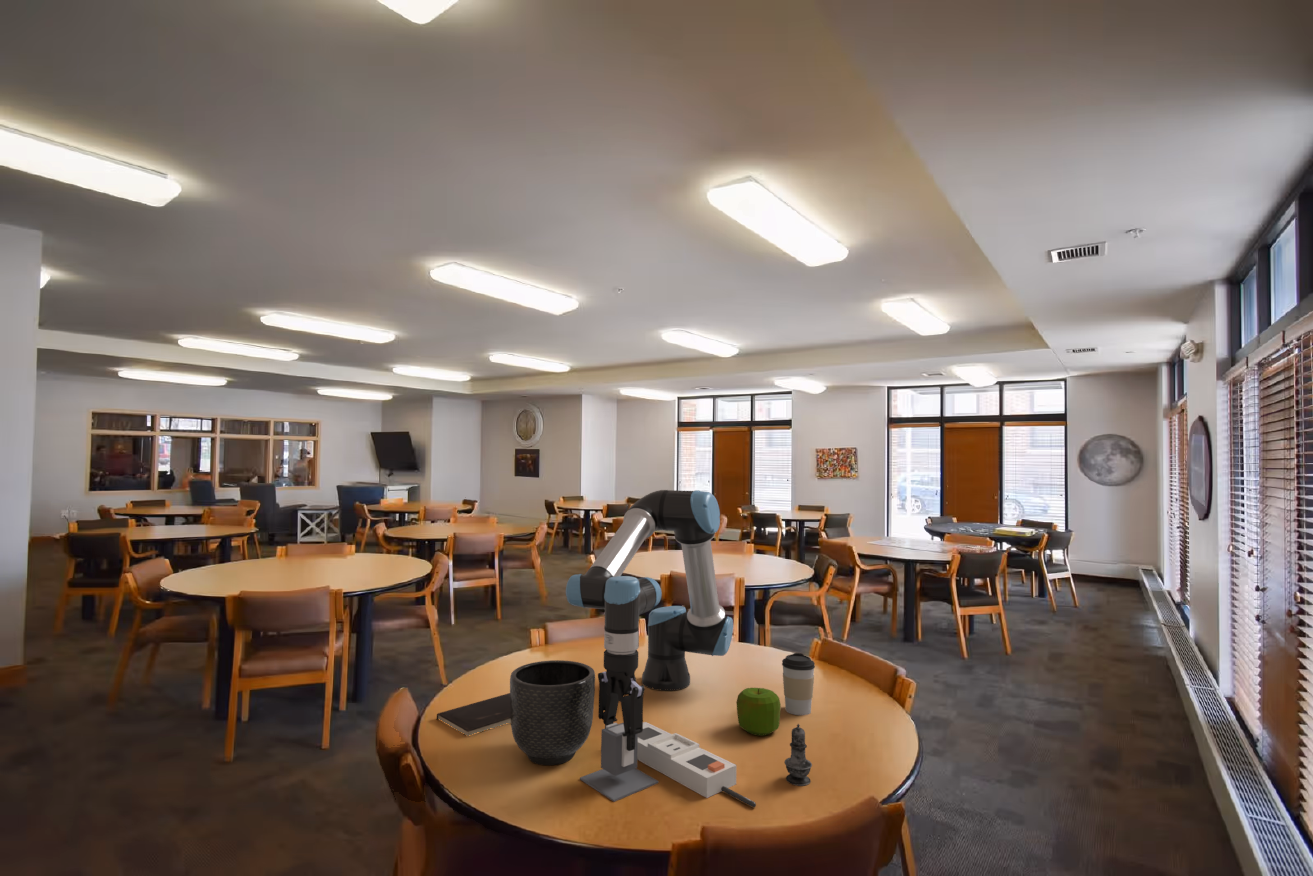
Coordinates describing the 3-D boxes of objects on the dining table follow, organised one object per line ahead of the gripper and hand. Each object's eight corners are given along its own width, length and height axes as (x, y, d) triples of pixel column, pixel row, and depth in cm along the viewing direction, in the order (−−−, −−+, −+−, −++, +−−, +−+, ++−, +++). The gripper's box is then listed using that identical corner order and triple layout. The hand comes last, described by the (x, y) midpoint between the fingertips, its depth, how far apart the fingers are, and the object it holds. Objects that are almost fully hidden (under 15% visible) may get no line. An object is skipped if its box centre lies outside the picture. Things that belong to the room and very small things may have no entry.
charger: (600, 767, 137) (601, 728, 137) (622, 759, 141) (623, 721, 141) (615, 776, 133) (615, 736, 134) (637, 767, 137) (637, 729, 138)
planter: (555, 784, 135) (557, 693, 136) (489, 760, 146) (491, 676, 147) (610, 750, 152) (611, 669, 153) (547, 731, 162) (549, 655, 163)
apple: (782, 725, 168) (783, 683, 169) (776, 742, 158) (777, 697, 158) (741, 719, 172) (741, 678, 172) (732, 735, 162) (732, 691, 162)
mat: (579, 779, 138) (579, 777, 138) (623, 763, 146) (623, 761, 146) (613, 802, 129) (613, 799, 129) (658, 783, 136) (658, 781, 137)
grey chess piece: (781, 773, 141) (781, 718, 142) (807, 773, 142) (807, 718, 143) (788, 787, 136) (789, 729, 136) (815, 786, 136) (815, 729, 137)
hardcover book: (543, 715, 174) (543, 706, 174) (467, 740, 158) (467, 730, 158) (510, 699, 185) (511, 691, 186) (436, 721, 169) (436, 712, 169)
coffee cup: (815, 718, 173) (815, 662, 174) (781, 715, 175) (781, 659, 176) (814, 706, 182) (814, 652, 183) (781, 703, 184) (782, 650, 185)
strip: (616, 748, 153) (617, 727, 153) (645, 738, 159) (645, 718, 159) (740, 816, 124) (740, 791, 124) (769, 801, 130) (769, 777, 130)
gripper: (582, 643, 143) (580, 750, 141) (634, 663, 129) (632, 781, 128) (609, 638, 148) (607, 741, 146) (661, 656, 134) (660, 769, 133)
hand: (619, 759), depth 137 cm, fingers closed on charger, 5 cm apart
